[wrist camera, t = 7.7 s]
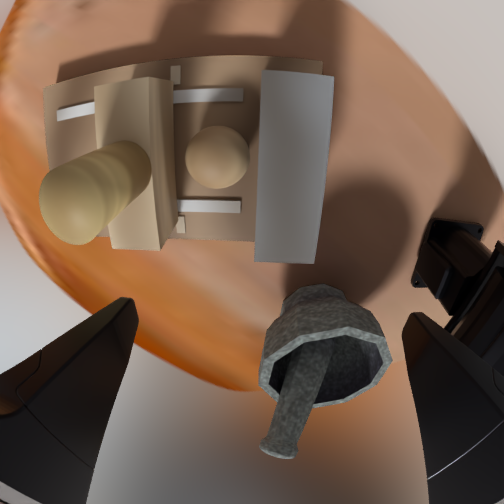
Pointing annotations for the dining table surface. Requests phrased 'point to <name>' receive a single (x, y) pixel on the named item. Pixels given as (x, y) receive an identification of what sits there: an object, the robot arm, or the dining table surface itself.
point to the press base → (241, 120)
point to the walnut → (217, 157)
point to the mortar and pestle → (317, 360)
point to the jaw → (120, 171)
